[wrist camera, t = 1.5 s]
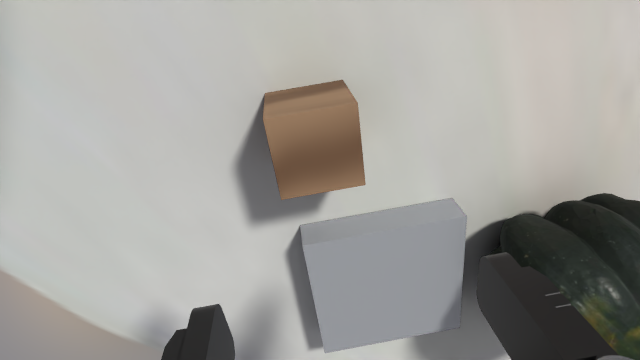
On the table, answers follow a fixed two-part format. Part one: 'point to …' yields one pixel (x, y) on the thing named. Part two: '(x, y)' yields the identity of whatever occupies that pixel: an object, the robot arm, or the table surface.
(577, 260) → the squash
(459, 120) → the table surface
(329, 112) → the walnut cube
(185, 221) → the table surface
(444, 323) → the stone coaster
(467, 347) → the table surface
